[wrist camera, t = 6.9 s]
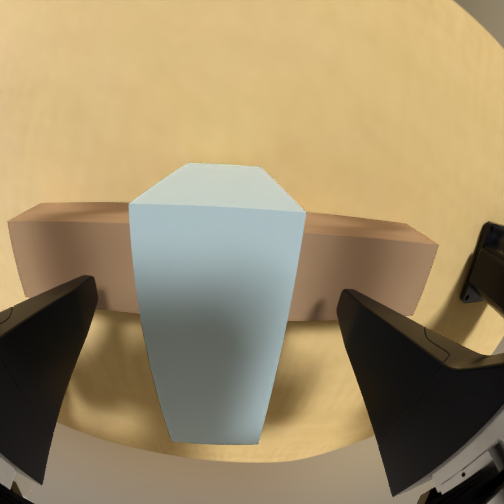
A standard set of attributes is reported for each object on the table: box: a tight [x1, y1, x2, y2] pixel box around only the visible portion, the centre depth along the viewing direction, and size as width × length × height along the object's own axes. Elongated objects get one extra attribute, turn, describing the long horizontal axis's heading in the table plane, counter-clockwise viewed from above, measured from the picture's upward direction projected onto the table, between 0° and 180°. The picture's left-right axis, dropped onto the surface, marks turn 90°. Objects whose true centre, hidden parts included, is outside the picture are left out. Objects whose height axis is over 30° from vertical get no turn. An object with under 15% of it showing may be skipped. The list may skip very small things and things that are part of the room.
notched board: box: [8, 202, 439, 321], centre depth 12 cm, size 20×4×3 cm, turn 85°
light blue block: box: [129, 163, 306, 445], centre depth 9 cm, size 3×8×7 cm, turn 175°
